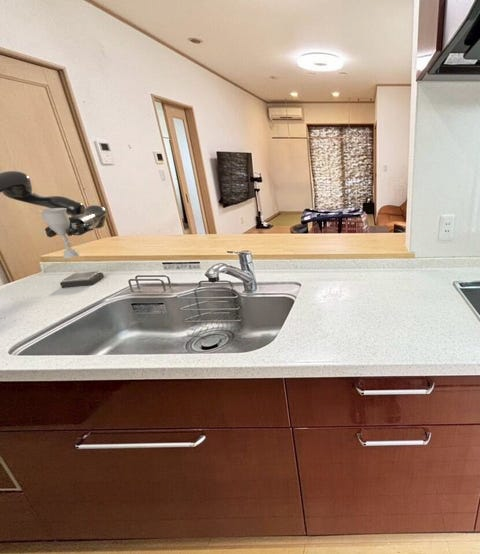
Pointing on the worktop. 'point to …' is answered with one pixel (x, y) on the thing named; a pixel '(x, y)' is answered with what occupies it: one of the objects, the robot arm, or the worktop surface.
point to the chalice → (59, 227)
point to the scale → (82, 279)
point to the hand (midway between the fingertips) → (58, 233)
